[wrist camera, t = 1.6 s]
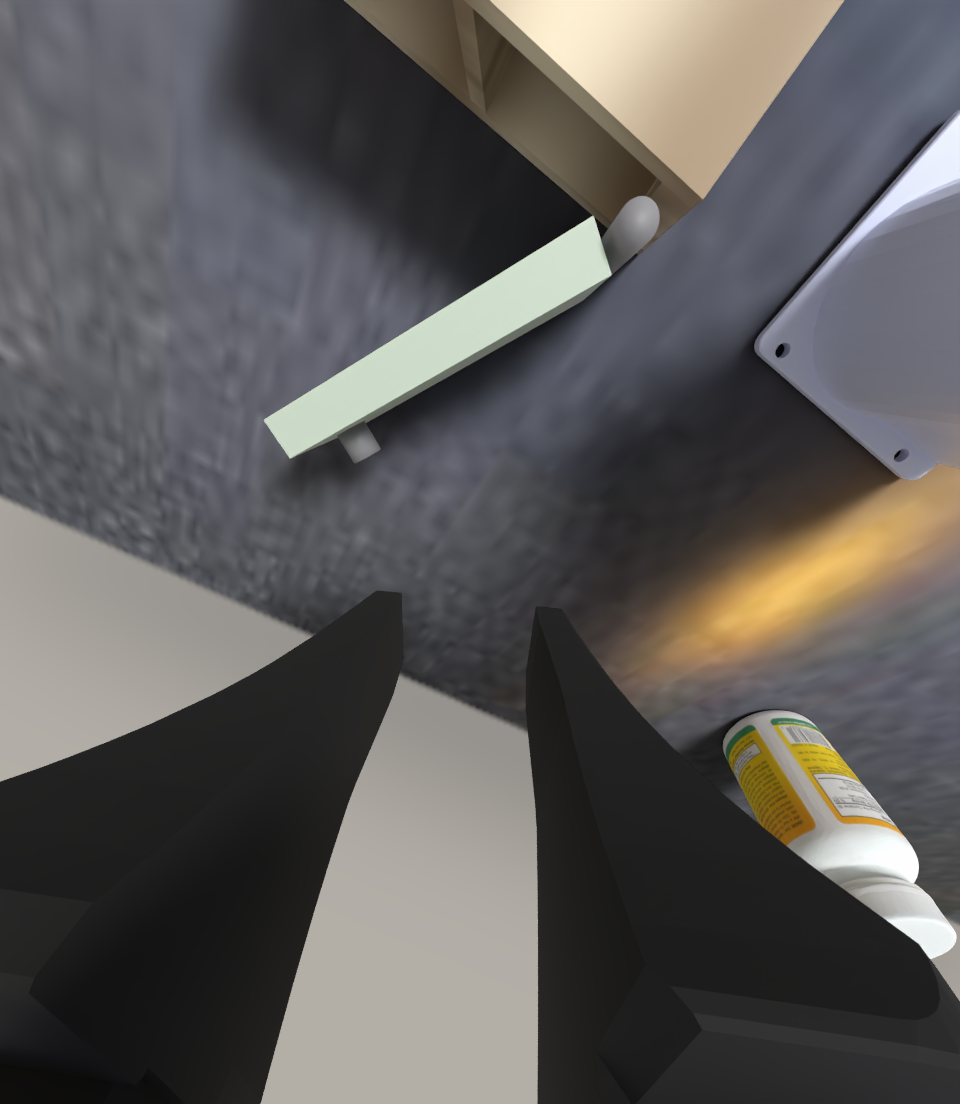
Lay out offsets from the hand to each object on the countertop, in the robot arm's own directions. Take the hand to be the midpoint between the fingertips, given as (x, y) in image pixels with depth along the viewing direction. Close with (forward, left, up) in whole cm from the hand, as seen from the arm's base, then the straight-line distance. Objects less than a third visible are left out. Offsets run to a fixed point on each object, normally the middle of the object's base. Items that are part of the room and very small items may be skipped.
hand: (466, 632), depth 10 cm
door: (+4, -4, -10) cm, 12 cm away
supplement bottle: (-23, +3, -11) cm, 25 cm away
